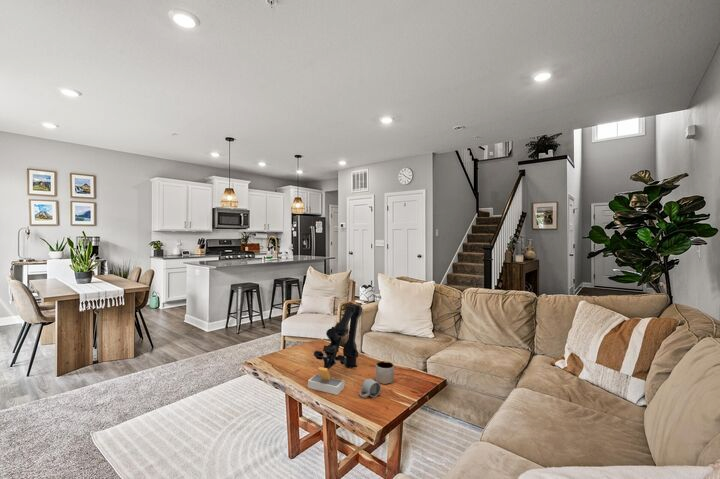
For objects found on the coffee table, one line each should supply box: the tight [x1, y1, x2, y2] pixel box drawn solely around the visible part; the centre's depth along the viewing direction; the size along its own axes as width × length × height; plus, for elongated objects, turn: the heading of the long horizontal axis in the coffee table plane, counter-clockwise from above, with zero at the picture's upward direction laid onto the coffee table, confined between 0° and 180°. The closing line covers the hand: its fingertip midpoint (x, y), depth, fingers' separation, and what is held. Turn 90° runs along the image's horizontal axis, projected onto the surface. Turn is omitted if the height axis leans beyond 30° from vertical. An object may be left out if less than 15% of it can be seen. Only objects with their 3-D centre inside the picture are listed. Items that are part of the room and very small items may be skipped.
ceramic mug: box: [359, 378, 382, 398], centre depth 177 cm, size 11×8×8 cm
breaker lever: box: [317, 366, 332, 381], centre depth 181 cm, size 2×5×8 cm
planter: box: [374, 360, 395, 385], centre depth 195 cm, size 11×11×10 cm
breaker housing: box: [307, 374, 345, 396], centre depth 183 cm, size 9×18×4 cm, turn 68°
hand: (324, 372), depth 181 cm, fingers closed, pressing on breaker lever
